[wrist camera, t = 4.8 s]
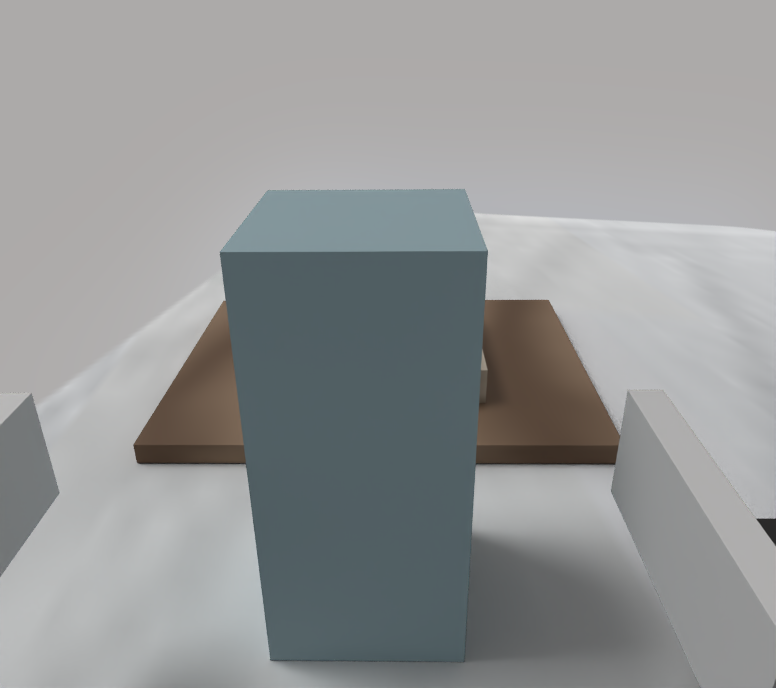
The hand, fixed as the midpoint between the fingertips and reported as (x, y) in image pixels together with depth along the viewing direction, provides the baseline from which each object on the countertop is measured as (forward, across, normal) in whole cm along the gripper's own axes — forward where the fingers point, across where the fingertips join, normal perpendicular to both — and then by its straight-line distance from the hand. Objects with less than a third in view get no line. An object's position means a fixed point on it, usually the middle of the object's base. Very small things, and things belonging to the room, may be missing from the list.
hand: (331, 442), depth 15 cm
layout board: (+15, +1, -6) cm, 16 cm away
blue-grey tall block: (+2, +1, -6) cm, 7 cm away
